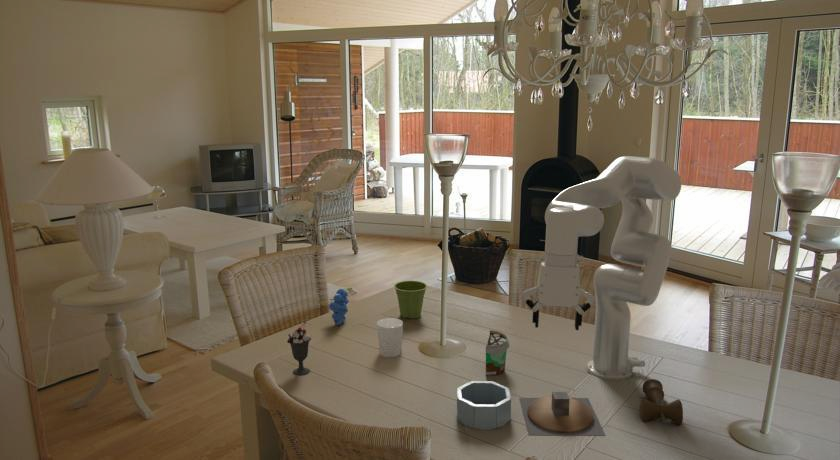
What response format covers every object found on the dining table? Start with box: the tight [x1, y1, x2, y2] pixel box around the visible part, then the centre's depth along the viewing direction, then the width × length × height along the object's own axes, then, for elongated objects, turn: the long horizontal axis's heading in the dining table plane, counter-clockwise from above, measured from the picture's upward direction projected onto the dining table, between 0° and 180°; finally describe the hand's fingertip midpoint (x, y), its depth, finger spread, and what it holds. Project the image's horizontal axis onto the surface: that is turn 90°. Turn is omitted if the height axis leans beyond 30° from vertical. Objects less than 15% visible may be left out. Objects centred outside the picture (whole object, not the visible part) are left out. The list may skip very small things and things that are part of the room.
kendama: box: [639, 378, 684, 426], centre depth 159 cm, size 6×10×20 cm
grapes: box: [328, 288, 350, 326], centre depth 221 cm, size 12×7×12 cm, turn 167°
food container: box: [485, 330, 510, 377], centre depth 183 cm, size 12×6×10 cm, turn 168°
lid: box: [527, 391, 593, 433], centre depth 158 cm, size 16×16×6 cm
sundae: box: [287, 321, 312, 377], centre depth 183 cm, size 7×7×15 cm
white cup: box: [376, 317, 404, 358], centre depth 196 cm, size 8×8×10 cm
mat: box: [519, 397, 606, 437], centre depth 159 cm, size 18×18×1 cm
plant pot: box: [393, 280, 428, 320], centre depth 227 cm, size 12×12×11 cm
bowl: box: [456, 380, 512, 430], centre depth 158 cm, size 13×13×6 cm
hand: (556, 327), depth 156 cm, fingers open, 9 cm apart
